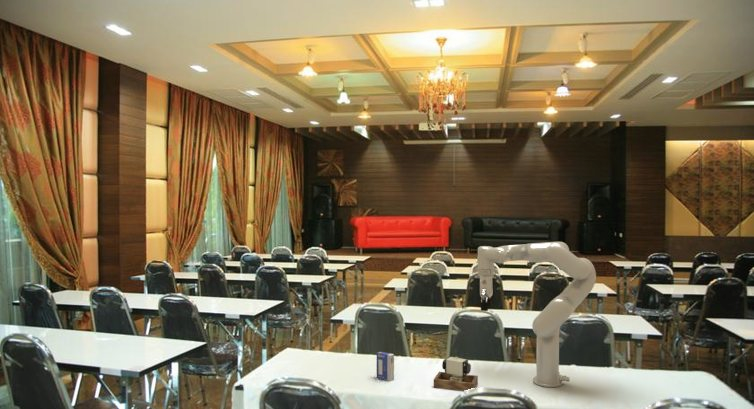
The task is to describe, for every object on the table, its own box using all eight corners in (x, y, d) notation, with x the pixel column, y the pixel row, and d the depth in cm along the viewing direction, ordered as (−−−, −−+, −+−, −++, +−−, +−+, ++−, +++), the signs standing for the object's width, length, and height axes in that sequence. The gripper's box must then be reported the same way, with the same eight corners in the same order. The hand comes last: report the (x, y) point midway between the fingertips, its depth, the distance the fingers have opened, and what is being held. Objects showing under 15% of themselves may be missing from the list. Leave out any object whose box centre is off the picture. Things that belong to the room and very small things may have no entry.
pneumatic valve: (466, 388, 229) (466, 360, 229) (442, 383, 235) (442, 356, 235) (471, 384, 233) (471, 357, 233) (447, 379, 240) (447, 353, 240)
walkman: (376, 378, 243) (376, 352, 243) (379, 376, 246) (379, 350, 245) (391, 381, 239) (391, 354, 239) (394, 379, 241) (394, 353, 241)
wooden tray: (477, 383, 236) (477, 375, 236) (473, 392, 226) (473, 384, 226) (439, 379, 242) (439, 371, 242) (433, 387, 231) (433, 379, 231)
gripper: (491, 275, 242) (491, 312, 242) (495, 270, 258) (495, 305, 258) (475, 274, 244) (474, 311, 244) (480, 269, 261) (480, 304, 261)
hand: (485, 308), depth 251 cm, fingers open, 9 cm apart
